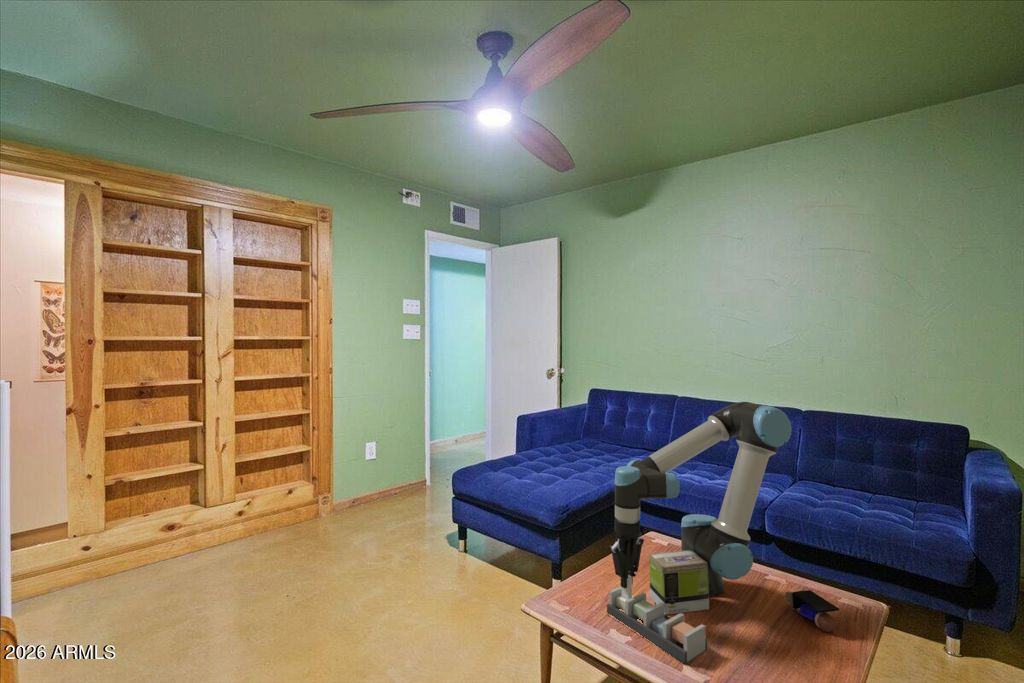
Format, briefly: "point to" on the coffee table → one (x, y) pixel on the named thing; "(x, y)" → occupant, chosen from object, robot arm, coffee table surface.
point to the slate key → (658, 625)
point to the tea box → (679, 581)
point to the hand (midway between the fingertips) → (626, 597)
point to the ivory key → (621, 602)
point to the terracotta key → (680, 631)
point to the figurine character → (813, 608)
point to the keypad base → (692, 639)
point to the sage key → (641, 608)
